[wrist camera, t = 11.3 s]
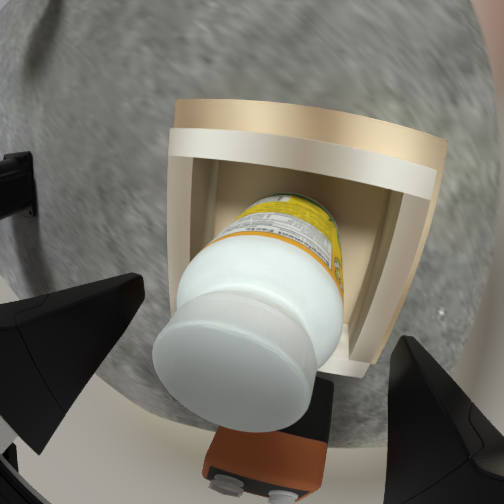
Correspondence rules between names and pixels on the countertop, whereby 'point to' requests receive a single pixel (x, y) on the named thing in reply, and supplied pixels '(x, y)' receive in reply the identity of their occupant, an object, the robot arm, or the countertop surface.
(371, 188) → the base
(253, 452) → the battery
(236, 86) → the countertop surface
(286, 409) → the supplement bottle
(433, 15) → the countertop surface
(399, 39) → the countertop surface
